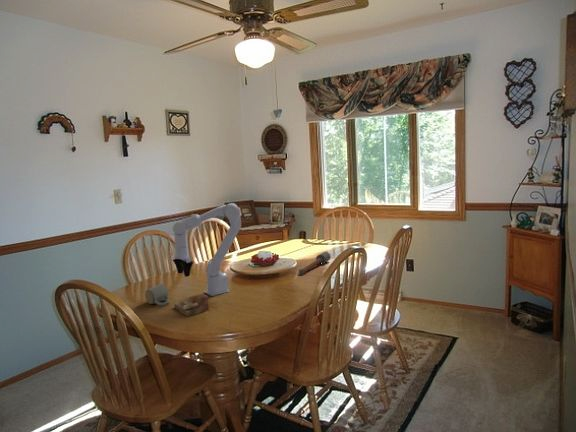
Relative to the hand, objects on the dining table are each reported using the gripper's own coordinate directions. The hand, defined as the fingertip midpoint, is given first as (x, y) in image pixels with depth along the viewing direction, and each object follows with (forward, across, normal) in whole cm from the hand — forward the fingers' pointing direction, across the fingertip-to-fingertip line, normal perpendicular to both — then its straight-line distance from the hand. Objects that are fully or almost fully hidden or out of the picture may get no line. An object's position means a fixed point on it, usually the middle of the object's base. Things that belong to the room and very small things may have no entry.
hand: (183, 274), depth 205 cm
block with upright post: (+10, +24, -6) cm, 27 cm away
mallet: (+10, +9, +74) cm, 75 cm away
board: (+10, +20, -8) cm, 24 cm away
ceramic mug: (+10, +1, -13) cm, 17 cm away
